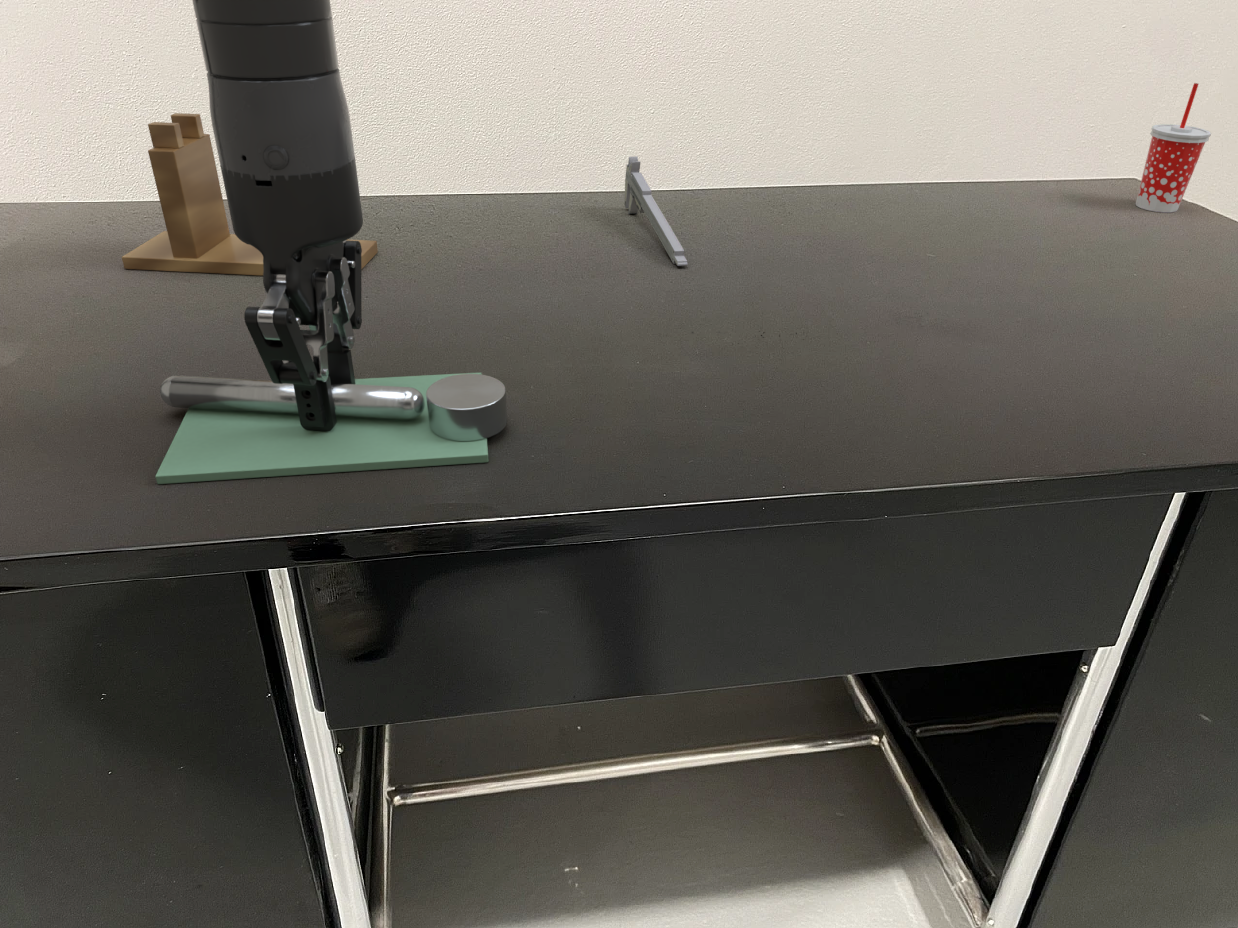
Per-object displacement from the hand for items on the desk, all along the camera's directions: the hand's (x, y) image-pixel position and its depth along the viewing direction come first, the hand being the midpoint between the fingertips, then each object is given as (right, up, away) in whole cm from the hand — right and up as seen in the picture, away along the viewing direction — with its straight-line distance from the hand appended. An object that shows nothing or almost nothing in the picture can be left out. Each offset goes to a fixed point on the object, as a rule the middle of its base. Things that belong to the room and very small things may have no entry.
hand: (330, 412), depth 63 cm
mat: (0, -1, 0) cm, 1 cm away
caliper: (+23, +21, +36) cm, 48 cm away
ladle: (0, 0, 0) cm, 1 cm away
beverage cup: (+85, +27, +49) cm, 102 cm away
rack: (-16, +16, +28) cm, 36 cm away
